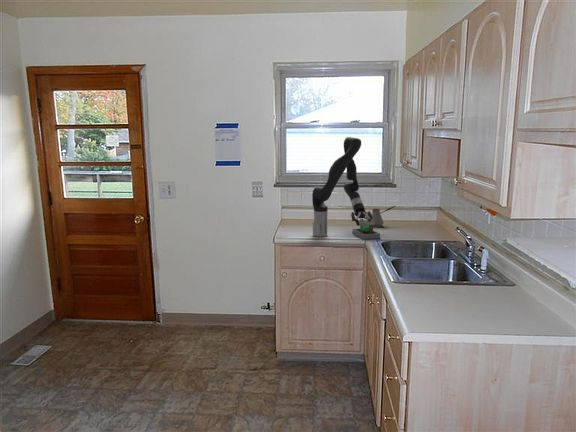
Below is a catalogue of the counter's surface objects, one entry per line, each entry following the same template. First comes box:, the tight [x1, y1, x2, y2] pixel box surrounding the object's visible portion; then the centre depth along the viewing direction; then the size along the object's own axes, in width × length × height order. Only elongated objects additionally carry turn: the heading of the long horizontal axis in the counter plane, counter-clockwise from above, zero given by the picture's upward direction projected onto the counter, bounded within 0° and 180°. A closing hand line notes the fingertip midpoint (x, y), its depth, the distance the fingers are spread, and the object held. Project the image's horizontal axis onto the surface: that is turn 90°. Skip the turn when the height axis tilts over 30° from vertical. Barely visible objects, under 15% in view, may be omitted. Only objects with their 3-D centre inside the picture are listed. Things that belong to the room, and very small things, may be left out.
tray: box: [351, 228, 381, 241], centre depth 293 cm, size 12×18×4 cm, turn 16°
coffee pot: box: [371, 205, 397, 228], centre depth 324 cm, size 21×12×15 cm, turn 99°
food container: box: [358, 218, 374, 234], centre depth 293 cm, size 12×6×10 cm, turn 30°
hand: (364, 225), depth 294 cm, fingers open, 8 cm apart
